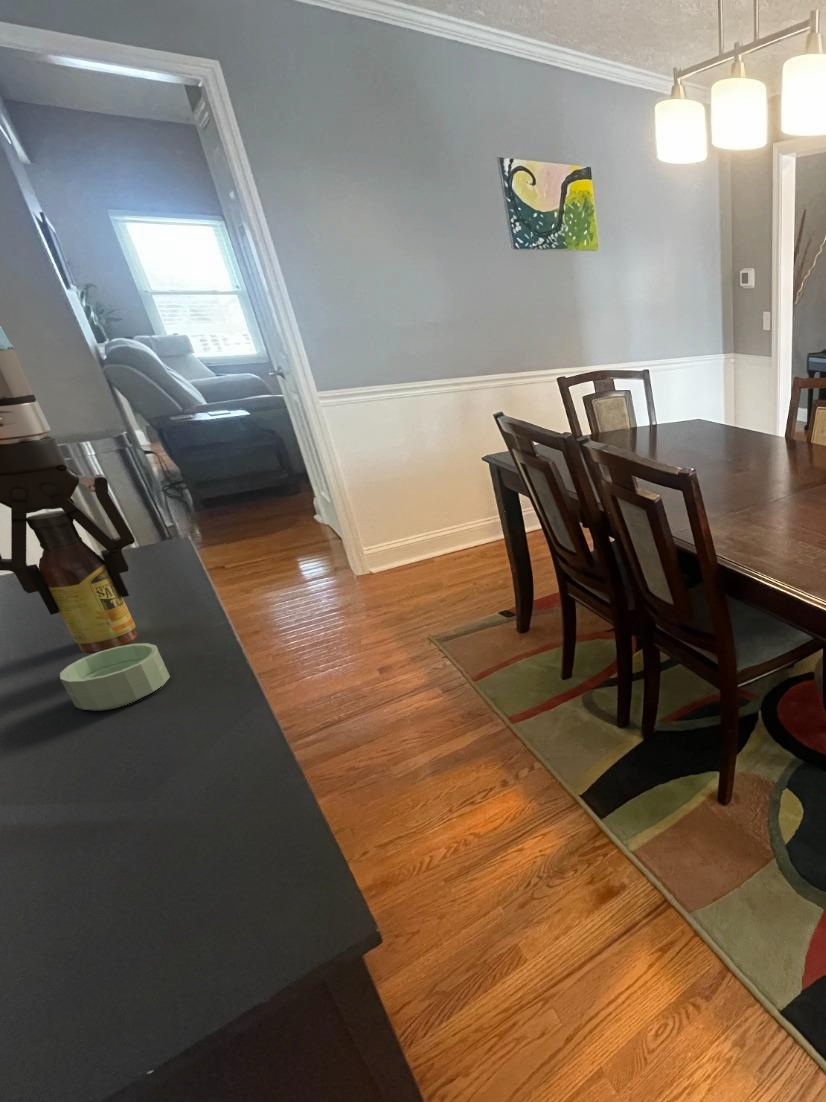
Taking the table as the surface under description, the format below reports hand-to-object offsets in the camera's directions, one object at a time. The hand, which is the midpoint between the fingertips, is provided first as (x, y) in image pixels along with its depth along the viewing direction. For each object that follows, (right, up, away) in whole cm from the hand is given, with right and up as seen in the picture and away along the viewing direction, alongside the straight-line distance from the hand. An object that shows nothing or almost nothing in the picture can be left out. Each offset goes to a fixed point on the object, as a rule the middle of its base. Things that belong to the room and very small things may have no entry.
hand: (90, 601), depth 84 cm
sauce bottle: (0, -7, +3) cm, 7 cm away
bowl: (+8, -12, -3) cm, 15 cm away
